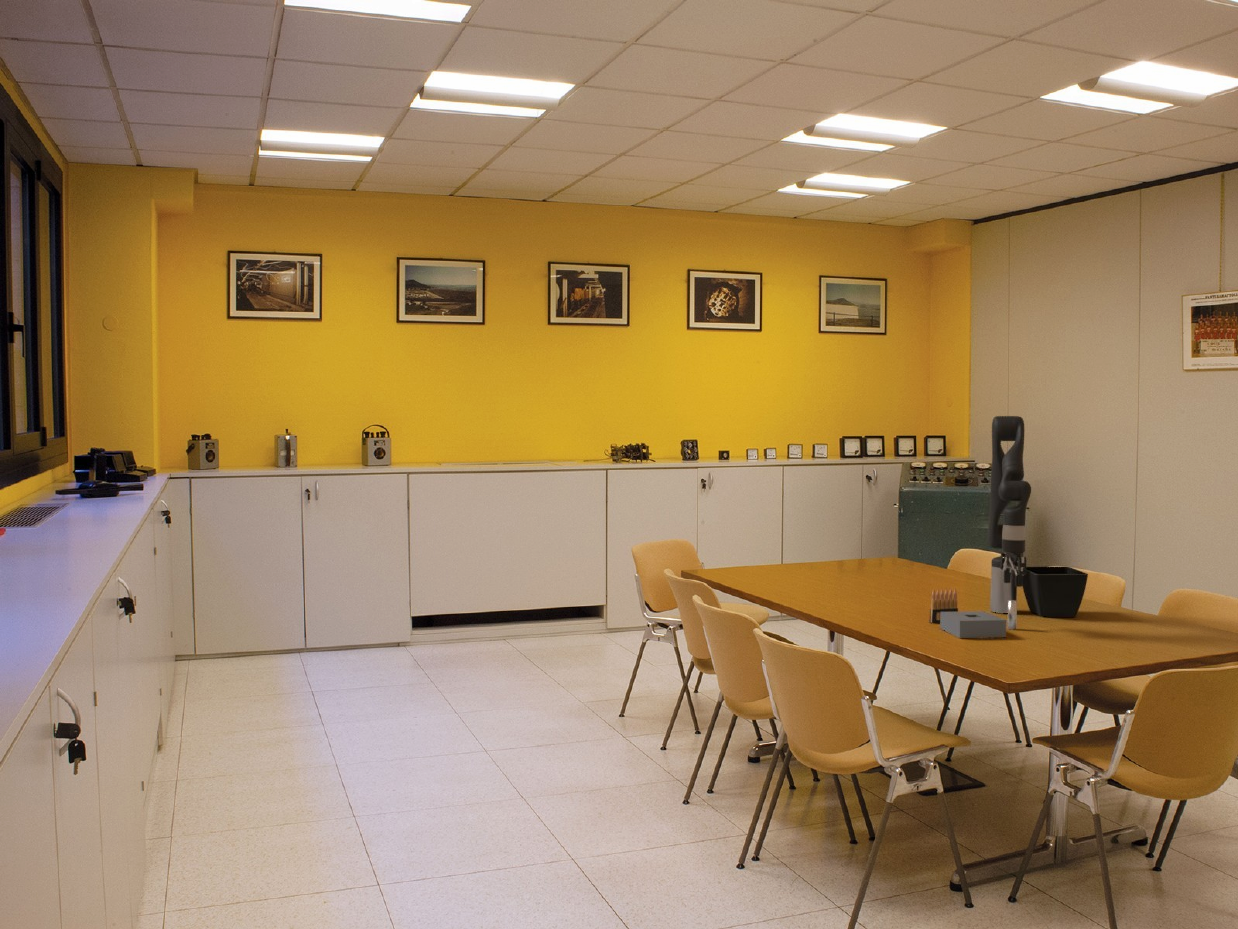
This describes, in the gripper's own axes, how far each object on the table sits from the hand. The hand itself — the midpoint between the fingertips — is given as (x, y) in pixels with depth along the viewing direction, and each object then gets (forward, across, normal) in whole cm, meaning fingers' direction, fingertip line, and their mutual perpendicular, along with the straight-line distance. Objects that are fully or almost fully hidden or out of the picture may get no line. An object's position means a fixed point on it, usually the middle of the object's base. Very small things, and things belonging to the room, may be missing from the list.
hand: (1012, 584), depth 357 cm
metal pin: (+16, 0, 0) cm, 16 cm away
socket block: (+16, -6, +17) cm, 24 cm away
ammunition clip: (+16, +13, +19) cm, 28 cm away
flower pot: (+15, +25, -28) cm, 41 cm away
